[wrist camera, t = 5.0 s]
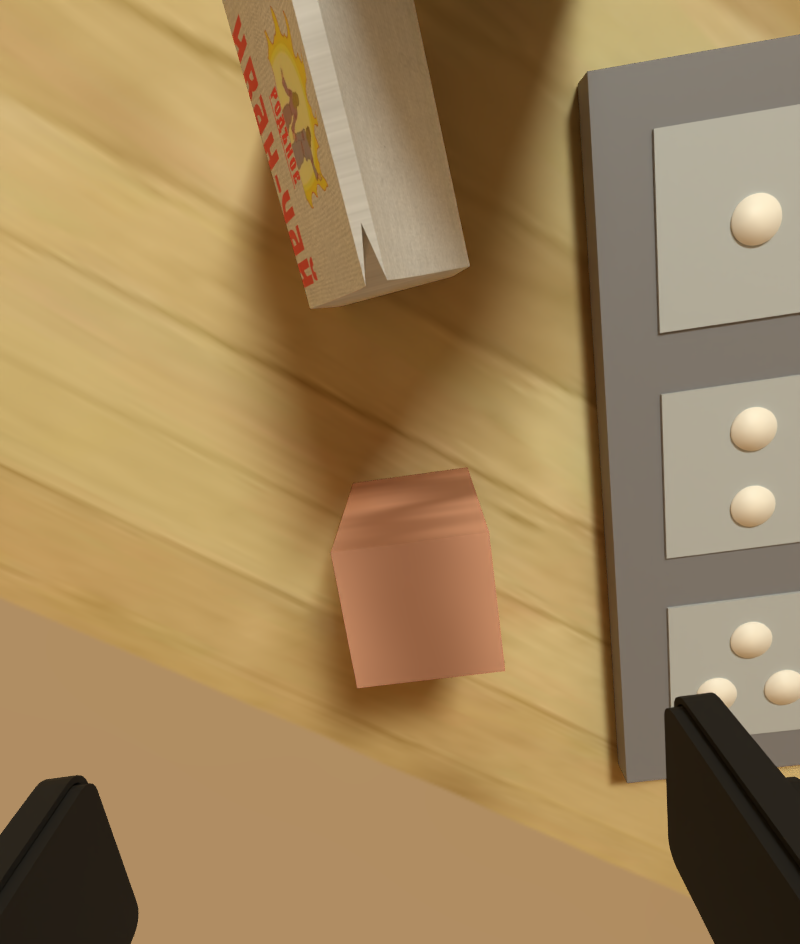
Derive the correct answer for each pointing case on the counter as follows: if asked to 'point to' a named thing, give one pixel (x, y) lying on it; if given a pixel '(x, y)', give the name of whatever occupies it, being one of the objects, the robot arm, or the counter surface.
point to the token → (417, 580)
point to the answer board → (698, 385)
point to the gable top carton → (351, 143)
